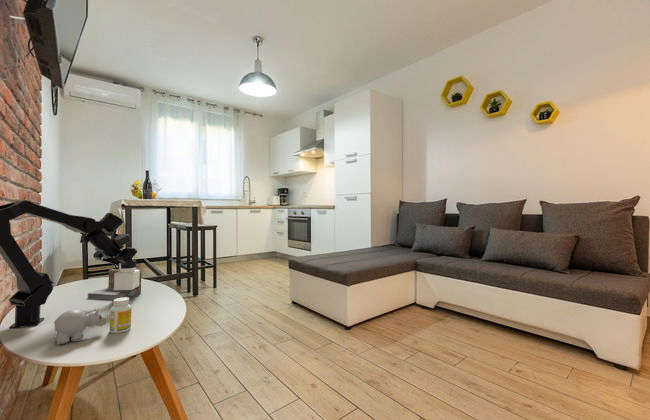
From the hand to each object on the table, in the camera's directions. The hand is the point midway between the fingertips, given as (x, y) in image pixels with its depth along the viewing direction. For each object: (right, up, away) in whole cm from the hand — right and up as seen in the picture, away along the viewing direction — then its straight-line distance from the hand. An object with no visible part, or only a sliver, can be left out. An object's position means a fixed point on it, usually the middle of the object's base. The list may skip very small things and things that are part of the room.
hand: (128, 266), depth 125 cm
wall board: (-7, -13, +2) cm, 15 cm away
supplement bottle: (+21, -13, -34) cm, 42 cm away
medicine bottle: (0, -9, -1) cm, 9 cm away
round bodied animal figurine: (+14, -13, -40) cm, 45 cm away
